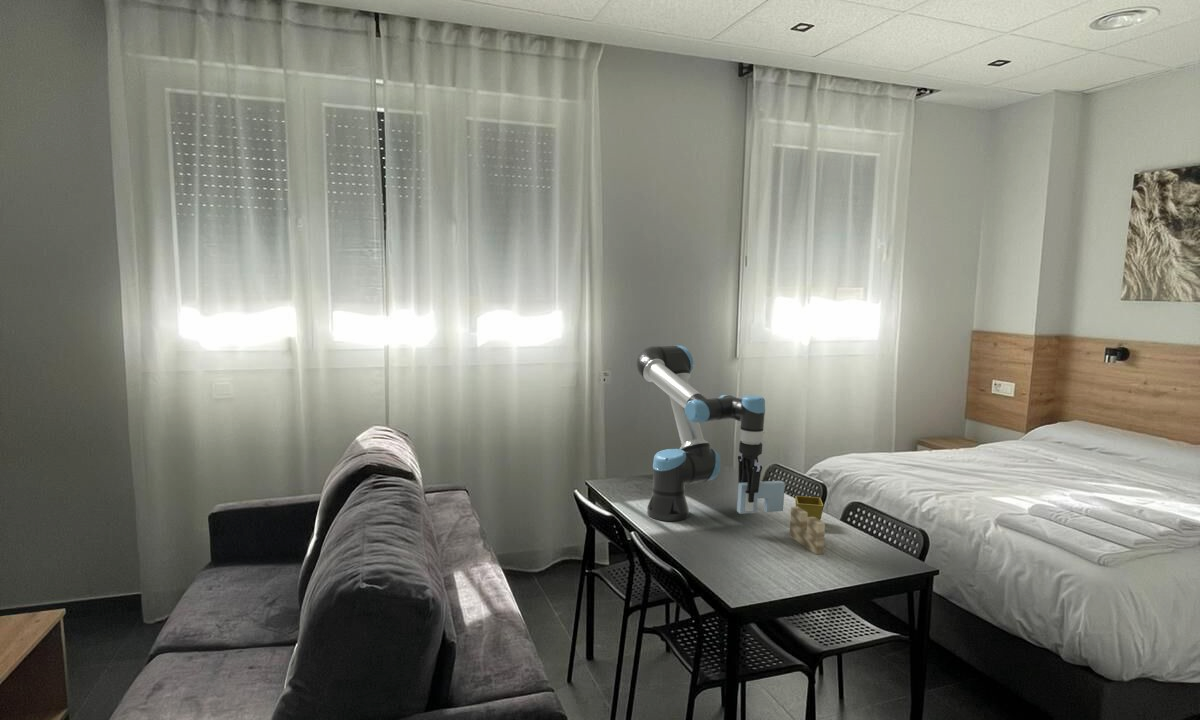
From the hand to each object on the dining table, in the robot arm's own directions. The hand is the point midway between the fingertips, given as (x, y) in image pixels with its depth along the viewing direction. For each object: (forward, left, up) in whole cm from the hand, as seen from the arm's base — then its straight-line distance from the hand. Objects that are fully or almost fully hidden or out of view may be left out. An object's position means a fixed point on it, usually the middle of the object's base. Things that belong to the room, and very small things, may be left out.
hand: (746, 508), depth 221 cm
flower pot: (+16, +19, -8) cm, 26 cm away
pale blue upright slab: (+4, +4, -1) cm, 5 cm away
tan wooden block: (+20, 0, -8) cm, 22 cm away
